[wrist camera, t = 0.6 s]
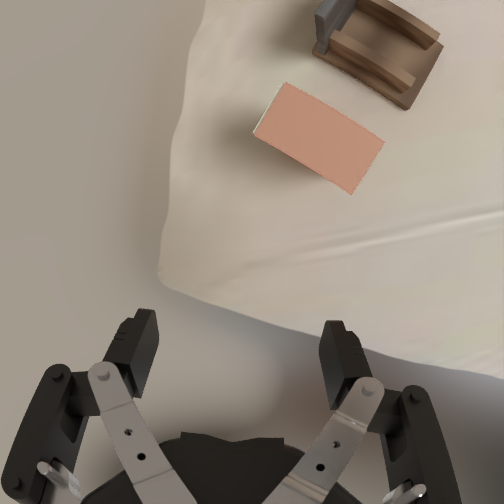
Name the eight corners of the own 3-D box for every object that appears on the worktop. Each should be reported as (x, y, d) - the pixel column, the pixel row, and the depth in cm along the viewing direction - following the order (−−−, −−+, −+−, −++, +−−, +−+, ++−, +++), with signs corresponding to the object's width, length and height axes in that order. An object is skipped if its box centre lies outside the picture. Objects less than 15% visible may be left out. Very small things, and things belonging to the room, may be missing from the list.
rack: (439, 49, 23) (480, 15, 13) (406, 110, 27) (444, 92, 16) (350, -4, 24) (357, -58, 13) (312, 53, 27) (306, 9, 17)
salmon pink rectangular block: (357, 147, 30) (384, 142, 16) (338, 177, 31) (351, 195, 18) (299, 112, 30) (282, 80, 16) (281, 142, 32) (250, 133, 18)
